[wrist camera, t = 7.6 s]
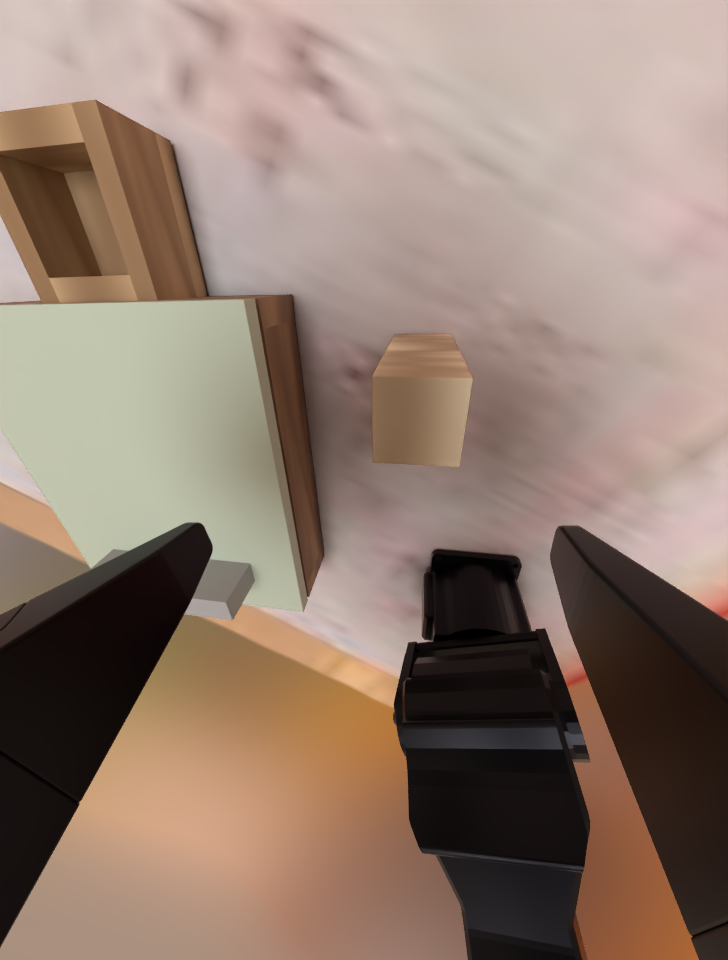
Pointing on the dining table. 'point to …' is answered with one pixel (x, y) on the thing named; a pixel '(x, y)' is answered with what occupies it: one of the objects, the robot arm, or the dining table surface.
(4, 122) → the wooden box tray
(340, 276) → the dining table surface
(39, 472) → the lid
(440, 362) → the brown wooden block
